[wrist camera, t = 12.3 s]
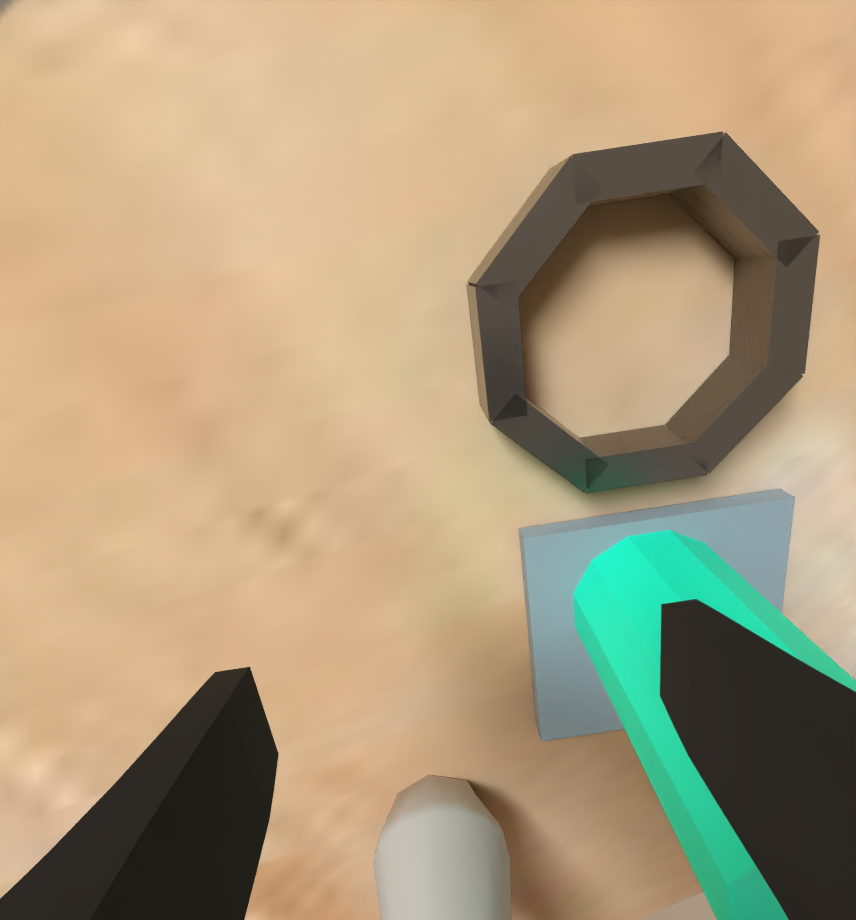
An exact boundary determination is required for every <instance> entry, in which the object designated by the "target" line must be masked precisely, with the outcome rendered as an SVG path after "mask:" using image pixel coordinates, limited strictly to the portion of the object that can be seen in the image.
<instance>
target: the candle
mask: <svg viewBox="0 0 856 920" xmlns="http://www.w3.org/2000/svg"><path fill="white" fill-rule="evenodd" d="M692 599H697V600H699V601H701V602H703V603H705V604H706V605H708V606H710V607H712V608H713V609H715V610H717V611H718V612H720V613H722V614H724V615H725V616H727V617H729V618H730V619H732V620H734V621H735V622H737V623H739V624H740V625H742V626H744V627H745V628H747V629H749V630H750V631H752V632H754V633H755V634H757V635H759V636H760V637H762V638H764V639H765V640H767V641H769V642H770V643H772V644H774V645H775V646H777V647H779V648H780V649H782V650H784V651H785V652H787V653H789V654H790V655H792V656H794V657H795V658H797V659H799V660H801V661H802V662H804V663H806V664H807V665H809V666H811V667H813V668H814V669H816V670H818V671H820V672H821V673H823V674H825V675H827V676H828V677H830V678H832V679H834V680H835V681H837V682H839V683H841V684H843V685H844V686H846V687H848V688H850V689H852V690H853V691H855V692H856V681H855V680H854V679H853V678H852V677H851V676H850V675H849V674H847V673H846V672H845V671H844V670H843V669H842V668H841V667H840V666H839V665H838V664H837V663H835V662H834V661H833V660H832V659H831V658H830V657H829V656H828V655H827V654H826V653H824V652H823V651H822V650H821V649H820V648H819V647H818V646H817V645H816V644H815V643H814V642H812V641H811V640H810V639H809V638H808V637H807V636H806V635H805V634H804V633H803V632H802V631H800V630H799V629H798V628H797V627H796V626H795V625H794V624H793V623H792V622H791V621H790V620H788V619H787V618H786V617H785V616H784V615H783V614H782V613H781V612H780V611H779V610H777V609H776V608H775V607H774V606H773V605H772V604H771V603H770V602H769V601H768V600H767V599H765V598H764V597H763V596H762V595H761V594H760V593H759V592H758V591H757V590H756V589H755V588H753V587H752V586H751V585H750V584H749V583H748V582H747V581H746V580H745V579H744V578H743V577H741V576H740V575H739V574H738V573H737V572H736V571H735V570H734V569H733V568H732V567H730V566H729V565H728V564H727V563H726V562H725V561H724V560H723V559H722V558H721V557H720V556H718V555H717V554H716V553H715V552H714V551H713V550H712V549H711V548H710V547H709V546H708V545H706V544H705V543H704V542H701V541H698V540H696V539H693V538H690V537H687V536H685V535H682V534H679V533H676V532H673V531H671V530H665V531H659V532H652V533H646V534H640V535H633V536H627V537H626V538H624V539H623V540H621V541H620V542H618V543H617V544H615V545H614V546H612V547H611V548H609V549H608V550H606V551H605V552H603V553H602V554H600V555H599V556H597V557H596V558H594V559H593V560H592V561H591V563H590V564H589V566H588V568H587V570H586V572H585V573H584V575H583V577H582V579H581V580H580V582H579V584H578V586H577V587H576V589H575V591H574V593H573V600H574V617H575V627H576V630H577V632H578V634H579V636H580V638H581V640H582V642H583V644H584V646H585V648H586V650H587V652H588V654H589V656H590V658H591V660H592V663H593V665H594V667H595V669H596V671H597V673H598V675H599V677H600V679H601V681H602V683H603V685H604V687H605V689H606V691H607V693H608V696H609V698H610V700H611V702H612V704H613V706H614V708H615V710H616V712H617V714H618V716H619V718H620V720H621V722H622V724H623V726H624V729H625V731H626V733H627V735H628V737H629V739H630V741H631V743H632V745H633V747H634V749H635V751H636V753H637V755H638V757H639V759H640V762H641V764H642V766H643V768H644V770H645V772H646V774H647V776H648V778H649V780H650V782H651V784H652V786H653V788H654V790H655V793H656V795H657V797H658V799H659V801H660V803H661V805H662V807H663V809H664V811H665V813H666V815H667V817H668V819H669V821H670V823H671V826H672V828H673V830H674V832H675V834H676V836H677V838H678V840H679V842H680V844H681V846H682V848H683V850H684V852H685V854H686V856H687V859H688V861H689V863H690V865H691V867H692V869H693V871H694V873H695V875H696V877H697V879H698V881H699V883H700V885H701V887H702V889H703V892H704V894H705V896H706V898H707V900H708V902H709V904H710V906H711V908H712V910H713V912H714V914H715V916H716V918H717V920H789V919H788V918H787V916H786V914H785V912H784V911H783V909H782V907H781V906H780V904H779V902H778V901H777V899H776V897H775V896H774V894H773V892H772V891H771V889H770V888H769V886H768V884H767V883H766V881H765V880H764V878H763V876H762V875H761V873H760V871H759V870H758V868H757V867H756V865H755V863H754V862H753V860H752V859H751V857H750V855H749V854H748V852H747V851H746V849H745V847H744V846H743V844H742V842H741V841H740V839H739V838H738V836H737V834H736V833H735V831H734V830H733V828H732V826H731V825H730V823H729V822H728V820H727V818H726V817H725V815H724V813H723V812H722V810H721V809H720V807H719V805H718V804H717V802H716V801H715V799H714V797H713V796H712V794H711V792H710V791H709V789H708V787H707V786H706V784H705V783H704V781H703V779H702V778H701V776H700V774H699V773H698V771H697V769H696V768H695V766H694V764H693V763H692V761H691V759H690V758H689V756H688V754H687V752H686V750H685V748H684V746H683V744H682V742H681V740H680V738H679V736H678V734H677V732H676V730H675V728H674V726H673V723H672V721H671V719H670V717H669V715H668V712H667V710H666V708H665V706H664V704H663V702H662V699H661V697H660V655H661V604H666V603H673V602H679V601H686V600H692Z"/></svg>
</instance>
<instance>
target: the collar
mask: <svg viewBox="0 0 856 920" xmlns="http://www.w3.org/2000/svg"><path fill="white" fill-rule="evenodd" d="M662 194H670V195H671V196H672V197H673V198H674V199H675V200H676V201H677V202H678V203H679V204H680V205H681V206H682V207H683V208H684V209H685V210H686V211H687V212H688V213H690V214H691V215H692V216H693V217H694V218H695V219H696V220H697V221H698V222H699V223H700V224H701V225H702V226H703V227H704V228H705V229H706V230H707V231H708V232H709V233H710V234H711V235H712V236H713V237H714V238H715V239H716V240H717V241H718V242H719V243H720V244H721V245H722V246H723V247H724V248H725V249H726V250H727V251H728V252H729V253H730V254H731V255H732V256H733V257H734V258H735V271H734V288H733V305H732V322H731V339H730V355H729V356H728V357H727V358H726V359H725V360H724V361H723V362H722V363H721V364H720V366H719V367H718V368H717V369H716V370H715V371H714V372H713V373H712V374H711V375H710V376H709V378H708V379H707V380H706V381H705V382H704V383H703V384H702V385H701V386H700V387H699V389H698V390H697V391H696V392H695V393H694V394H693V395H692V396H691V397H690V398H689V399H688V401H687V402H686V403H685V404H684V405H683V406H682V407H681V408H680V409H679V410H678V411H677V413H676V414H675V415H674V416H673V417H672V418H671V419H670V420H669V421H668V422H667V424H666V425H662V426H655V427H648V428H642V429H635V430H629V431H622V432H616V433H609V434H602V435H596V436H589V437H583V438H578V437H577V436H576V435H575V434H573V433H572V432H571V431H569V430H568V429H567V428H565V427H564V426H563V425H562V424H560V423H559V422H558V421H556V420H555V419H554V418H552V417H551V416H550V415H549V414H547V413H546V412H545V411H543V410H542V409H541V408H539V407H538V406H537V405H535V404H534V403H533V402H532V401H530V400H529V399H528V398H526V390H525V377H524V364H523V351H522V339H521V326H520V313H519V300H518V297H519V295H520V294H521V293H522V292H523V290H524V289H525V288H526V286H527V285H528V284H529V282H530V281H531V280H532V278H533V277H534V276H535V275H536V273H537V272H538V271H539V269H540V268H541V267H542V265H543V264H544V263H545V262H546V260H547V259H548V258H549V256H550V255H551V254H552V252H553V251H554V250H555V248H556V247H557V246H558V245H559V243H560V242H561V241H562V239H563V238H564V237H565V235H566V234H567V233H568V232H569V230H570V229H571V228H572V226H573V225H574V224H575V222H576V221H577V220H578V218H579V217H580V216H581V215H582V213H583V212H584V211H585V209H586V208H587V207H588V206H590V205H597V204H603V203H610V202H616V201H623V200H630V199H636V198H643V197H649V196H656V195H662ZM818 232H819V231H818V230H817V229H816V228H815V227H814V226H813V225H812V224H811V223H810V221H809V220H808V219H807V218H806V217H805V216H804V215H803V214H802V213H801V212H800V211H799V210H798V209H797V208H796V207H795V205H794V204H793V203H792V202H791V201H790V200H789V199H788V198H787V197H786V196H785V195H784V194H783V193H782V192H781V191H780V190H779V188H778V187H777V186H776V185H775V184H774V183H773V182H772V181H771V180H770V179H769V178H768V177H767V176H766V175H765V174H764V172H763V171H762V170H761V169H760V168H759V167H758V166H757V165H756V164H755V163H754V162H753V161H752V160H751V159H750V158H749V157H748V155H747V154H746V153H745V152H744V151H743V150H742V149H741V148H740V147H739V146H738V145H737V144H736V143H735V142H734V141H733V139H732V138H731V137H730V136H729V135H728V134H727V133H724V134H723V132H717V133H710V134H704V135H697V136H690V137H684V138H677V139H671V140H664V141H657V142H651V143H644V144H638V145H631V146H625V147H618V148H611V149H605V150H598V151H592V152H585V153H578V154H573V155H571V156H570V157H568V158H567V159H565V160H563V161H562V162H560V163H558V164H557V165H555V166H554V167H552V168H551V169H549V171H548V172H547V173H546V175H545V176H544V178H543V179H542V180H541V182H540V183H539V184H538V186H537V187H536V189H535V190H534V191H533V193H532V194H531V195H530V197H529V198H528V199H527V201H526V202H525V204H524V205H523V206H522V208H521V209H520V210H519V212H518V213H517V214H516V216H515V217H514V219H513V220H512V221H511V223H510V224H509V225H508V227H507V228H506V230H505V231H504V232H503V234H502V235H501V236H500V238H499V239H498V240H497V242H496V243H495V245H494V246H493V247H492V249H491V250H490V251H489V253H488V254H487V255H486V257H485V258H484V260H483V261H482V262H481V264H480V265H479V266H478V268H477V269H476V270H475V272H474V273H473V275H472V276H471V277H470V279H469V280H468V281H467V282H469V283H470V284H467V293H468V302H469V311H470V320H471V329H472V338H473V347H474V356H475V365H476V374H477V383H478V392H479V401H480V406H481V408H482V410H483V411H484V413H485V415H486V417H487V418H488V420H489V422H490V423H491V424H492V425H493V426H494V427H496V428H497V429H498V430H500V431H501V432H503V433H504V434H505V435H507V436H508V437H509V438H511V439H512V440H513V441H515V442H516V443H518V444H519V445H520V446H522V447H523V448H524V449H526V450H527V451H528V452H530V453H531V454H533V455H534V456H535V457H537V458H538V459H539V460H541V461H542V462H543V463H545V464H546V465H547V466H549V467H550V468H552V469H553V470H554V471H556V472H557V473H558V474H560V475H561V476H562V477H564V478H565V479H567V480H568V481H569V482H571V483H572V484H573V485H575V486H576V487H577V488H579V489H580V490H581V491H583V492H586V493H590V492H596V491H603V490H610V489H616V488H623V487H629V486H636V485H642V484H649V483H656V482H662V481H669V480H675V479H682V478H688V477H695V476H702V475H707V472H708V473H710V472H711V471H712V470H713V469H714V468H715V467H716V466H717V465H718V464H719V463H720V462H721V461H722V460H723V459H724V458H725V457H726V456H727V454H728V453H729V452H730V451H731V450H732V449H733V448H734V447H735V446H736V445H737V444H738V443H739V442H740V441H741V440H742V439H743V438H744V437H745V436H746V435H747V434H748V433H749V432H750V431H751V430H752V429H753V428H754V427H755V426H756V425H757V424H758V422H759V421H760V420H761V419H762V418H763V417H764V416H765V415H766V414H767V413H768V412H769V411H770V410H771V409H772V408H773V407H774V406H775V405H776V404H777V403H778V402H779V401H780V400H781V399H782V398H783V397H784V396H785V395H786V394H787V393H788V391H789V390H790V389H791V388H792V387H793V386H794V385H795V384H796V383H797V382H798V381H799V380H800V379H801V378H802V377H803V375H801V374H804V373H805V366H806V357H807V348H808V339H809V330H810V321H811V312H812V303H813V294H814V285H815V276H816V266H817V257H818V248H819V239H820V235H817V233H818Z"/></svg>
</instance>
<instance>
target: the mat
mask: <svg viewBox="0 0 856 920" xmlns="http://www.w3.org/2000/svg"><path fill="white" fill-rule="evenodd" d="M794 499H795V497H793V496H791V495H790V494H788V493H786V492H785V491H783V490H781V489H775V490H768V491H762V492H755V493H749V494H742V495H736V496H729V497H722V498H716V499H709V500H703V501H696V502H690V503H683V504H676V505H670V506H663V507H657V508H650V509H644V510H637V511H630V512H624V513H617V514H611V515H604V516H598V517H591V518H584V519H578V520H571V521H565V522H558V523H552V524H545V525H538V526H532V527H525V528H519V536H520V547H521V558H522V569H523V580H524V591H525V602H526V613H527V624H528V634H529V645H530V656H531V667H532V678H533V689H534V700H535V711H536V722H537V728H538V732H539V735H540V738H541V742H543V741H550V740H556V739H563V738H569V737H576V736H582V735H589V734H596V733H602V732H609V731H615V730H622V729H624V726H623V724H622V722H621V720H620V718H619V716H618V714H617V712H616V710H615V708H614V706H613V704H612V702H611V700H610V698H609V696H608V693H607V691H606V689H605V687H604V685H603V683H602V681H601V679H600V677H599V675H598V673H597V671H596V669H595V667H594V665H593V663H592V660H591V658H590V656H589V654H588V652H587V650H586V648H585V646H584V644H583V642H582V640H581V638H580V636H579V634H578V632H577V630H576V627H575V617H574V600H573V593H574V591H575V589H576V587H577V586H578V584H579V582H580V580H581V579H582V577H583V575H584V573H585V572H586V570H587V568H588V566H589V564H590V563H591V561H592V560H593V559H594V558H596V557H597V556H599V555H600V554H602V553H603V552H605V551H606V550H608V549H609V548H611V547H612V546H614V545H615V544H617V543H618V542H620V541H621V540H623V539H624V538H626V537H627V536H633V535H640V534H646V533H652V532H659V531H665V530H671V531H673V532H676V533H679V534H682V535H685V536H687V537H690V538H693V539H696V540H698V541H701V542H704V543H705V544H706V545H708V546H709V547H710V548H711V549H712V550H713V551H714V552H715V553H716V554H717V555H718V556H720V557H721V558H722V559H723V560H724V561H725V562H726V563H727V564H728V565H729V566H730V567H732V568H733V569H734V570H735V571H736V572H737V573H738V574H739V575H740V576H741V577H743V578H744V579H745V580H746V581H747V582H748V583H749V584H750V585H751V586H752V587H753V588H755V589H756V590H757V591H758V592H759V593H760V594H761V595H762V596H763V597H764V598H765V599H767V600H768V601H769V602H770V603H771V604H772V605H773V606H774V607H775V608H776V609H777V610H779V611H780V612H781V613H782V606H783V597H784V588H785V579H786V570H787V561H788V552H789V544H790V535H791V526H792V517H793V508H794Z"/></svg>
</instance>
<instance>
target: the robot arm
mask: <svg viewBox="0 0 856 920" xmlns="http://www.w3.org/2000/svg"><path fill="white" fill-rule="evenodd" d="M660 697H661V699H662V702H663V704H664V706H665V708H666V710H667V712H668V715H669V717H670V719H671V721H672V723H673V726H674V728H675V730H676V732H677V734H678V736H679V738H680V740H681V742H682V744H683V746H684V748H685V750H686V752H687V754H688V756H689V758H690V759H691V761H692V763H693V764H694V766H695V768H696V769H697V771H698V773H699V774H700V776H701V778H702V779H703V781H704V783H705V784H706V786H707V787H708V789H709V791H710V792H711V794H712V796H713V797H714V799H715V801H716V802H717V804H718V805H719V807H720V809H721V810H722V812H723V813H724V815H725V817H726V818H727V820H728V822H729V823H730V825H731V826H732V828H733V830H734V831H735V833H736V834H737V836H738V838H739V839H740V841H741V842H742V844H743V846H744V847H745V849H746V851H747V852H748V854H749V855H750V857H751V859H752V860H753V862H754V863H755V865H756V867H757V868H758V870H759V871H760V873H761V875H762V876H763V878H764V880H765V881H766V883H767V884H768V886H769V888H770V889H771V891H772V892H773V894H774V896H775V897H776V899H777V901H778V902H779V904H780V906H781V907H782V909H783V911H784V912H785V914H786V916H787V918H788V919H789V920H856V692H855V691H853V690H852V689H850V688H848V687H846V686H844V685H843V684H841V683H839V682H837V681H835V680H834V679H832V678H830V677H828V676H827V675H825V674H823V673H821V672H820V671H818V670H816V669H814V668H813V667H811V666H809V665H807V664H806V663H804V662H802V661H801V660H799V659H797V658H795V657H794V656H792V655H790V654H789V653H787V652H785V651H784V650H782V649H780V648H779V647H777V646H775V645H774V644H772V643H770V642H769V641H767V640H765V639H764V638H762V637H760V636H759V635H757V634H755V633H754V632H752V631H750V630H749V629H747V628H745V627H744V626H742V625H740V624H739V623H737V622H735V621H734V620H732V619H730V618H729V617H727V616H725V615H724V614H722V613H720V612H718V611H717V610H715V609H713V608H712V607H710V606H708V605H706V604H705V603H703V602H701V601H699V600H697V599H692V600H686V601H679V602H673V603H666V604H661V655H660ZM277 761H278V751H277V748H276V745H275V742H274V739H273V736H272V733H271V730H270V727H269V724H268V721H267V718H266V715H265V712H264V709H263V705H262V702H261V699H260V696H259V693H258V690H257V687H256V684H255V681H254V678H253V675H252V672H251V669H250V667H246V668H239V669H233V670H226V671H220V672H215V673H214V674H213V675H212V676H211V677H210V678H209V679H208V680H207V681H206V682H205V684H204V685H203V686H202V687H201V688H200V689H199V690H198V691H197V692H196V694H195V695H194V696H193V697H192V698H191V699H190V700H189V701H188V703H187V704H186V705H185V706H184V707H183V708H182V709H181V710H180V712H179V713H178V714H177V715H176V716H175V717H174V718H173V720H172V721H171V722H170V723H169V724H168V725H167V726H166V727H165V729H164V730H163V731H162V732H161V733H160V734H159V735H158V737H157V738H156V739H155V740H154V741H153V742H152V743H151V744H150V745H149V746H148V748H147V749H146V750H145V751H144V752H143V753H142V754H141V755H140V756H139V758H138V759H137V760H136V761H135V762H134V763H133V764H132V765H131V766H130V768H129V769H128V770H127V771H126V772H125V773H124V774H123V775H122V776H121V778H120V779H119V780H118V781H117V782H116V783H115V784H114V785H113V786H112V787H111V788H110V789H109V790H108V791H107V792H106V793H105V794H104V795H103V797H102V798H101V799H100V800H99V801H98V802H97V803H96V804H95V805H94V806H93V807H92V808H91V809H90V810H89V811H88V812H87V813H86V814H85V815H84V816H83V817H82V818H81V819H80V820H79V821H78V822H77V823H76V824H75V826H74V827H73V828H72V829H71V830H70V831H69V832H68V833H67V834H66V835H65V836H64V837H63V838H62V839H61V840H60V841H59V842H58V843H57V844H56V845H55V846H54V847H53V848H52V849H51V850H50V851H49V852H48V853H47V854H46V855H45V856H44V857H43V858H42V859H41V860H40V861H39V862H38V863H37V864H36V865H35V866H34V867H33V868H32V869H31V870H30V871H29V872H28V873H27V874H26V875H25V876H24V877H23V878H22V879H21V880H20V881H19V882H17V883H16V884H15V885H14V886H13V887H12V888H11V889H10V890H9V891H8V892H7V893H6V894H5V895H4V896H3V897H2V898H1V899H0V920H244V919H245V915H246V911H247V907H248V903H249V899H250V895H251V891H252V887H253V883H254V879H255V875H256V871H257V867H258V863H259V859H260V855H261V851H262V847H263V843H264V839H265V835H266V831H267V827H268V823H269V818H270V812H271V805H272V799H273V792H274V785H275V777H276V769H277Z"/></svg>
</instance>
